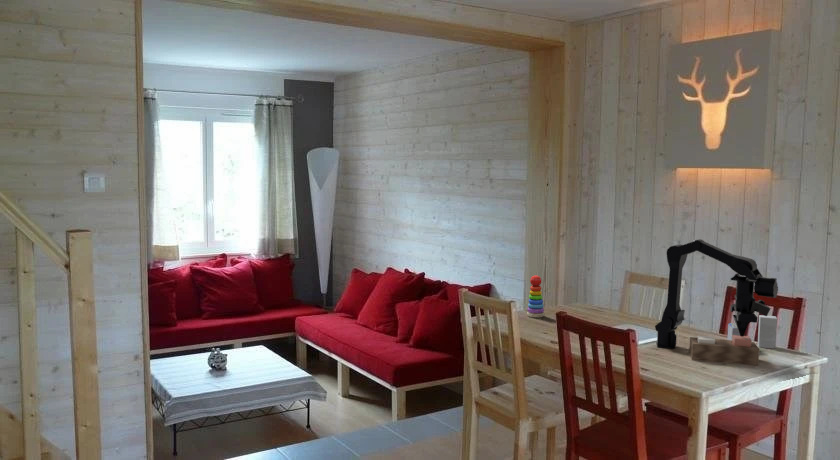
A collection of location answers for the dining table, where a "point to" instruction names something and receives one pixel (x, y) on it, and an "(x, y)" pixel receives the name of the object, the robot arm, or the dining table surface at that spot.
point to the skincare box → (767, 331)
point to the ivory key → (705, 339)
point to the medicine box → (732, 331)
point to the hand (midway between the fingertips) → (741, 336)
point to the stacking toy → (535, 298)
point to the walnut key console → (724, 352)
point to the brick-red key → (741, 341)
